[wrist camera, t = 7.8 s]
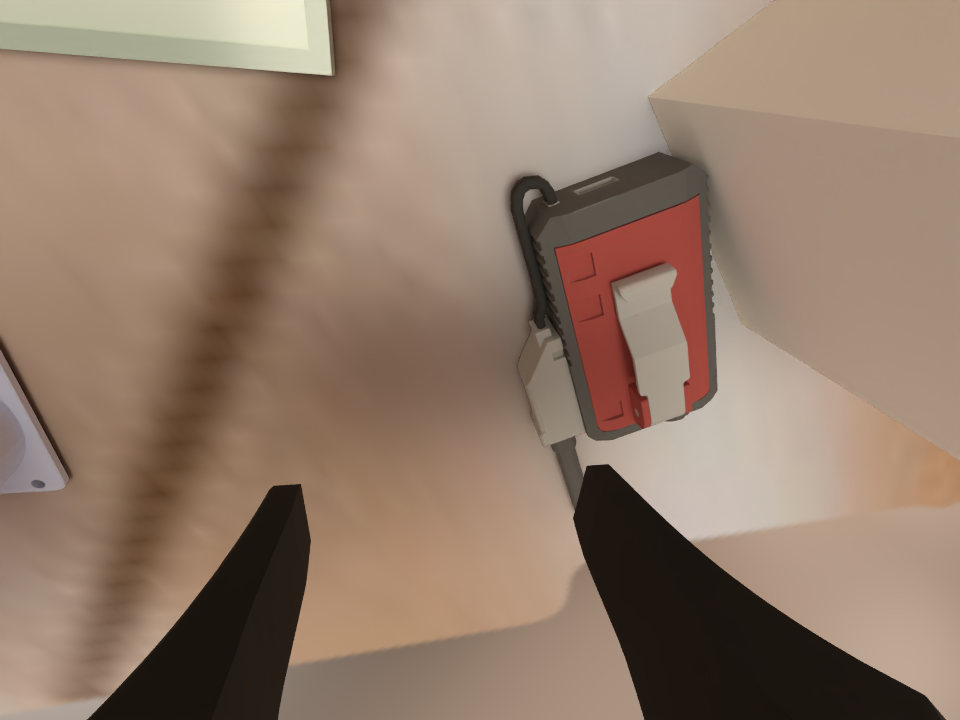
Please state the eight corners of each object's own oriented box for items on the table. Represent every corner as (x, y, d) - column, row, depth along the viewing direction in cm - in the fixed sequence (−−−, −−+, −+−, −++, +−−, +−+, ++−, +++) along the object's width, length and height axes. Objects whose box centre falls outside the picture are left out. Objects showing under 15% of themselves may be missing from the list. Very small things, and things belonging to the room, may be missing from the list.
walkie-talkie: (453, 195, 18) (563, 509, 29) (469, 228, 14) (588, 574, 25) (671, 111, 18) (698, 461, 29) (746, 123, 14) (744, 520, 25)
